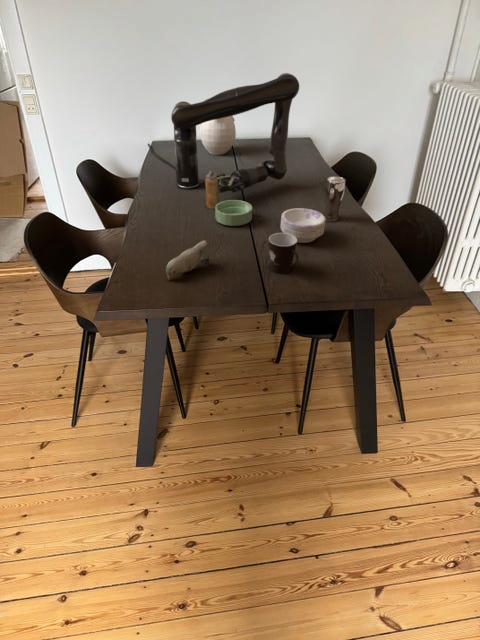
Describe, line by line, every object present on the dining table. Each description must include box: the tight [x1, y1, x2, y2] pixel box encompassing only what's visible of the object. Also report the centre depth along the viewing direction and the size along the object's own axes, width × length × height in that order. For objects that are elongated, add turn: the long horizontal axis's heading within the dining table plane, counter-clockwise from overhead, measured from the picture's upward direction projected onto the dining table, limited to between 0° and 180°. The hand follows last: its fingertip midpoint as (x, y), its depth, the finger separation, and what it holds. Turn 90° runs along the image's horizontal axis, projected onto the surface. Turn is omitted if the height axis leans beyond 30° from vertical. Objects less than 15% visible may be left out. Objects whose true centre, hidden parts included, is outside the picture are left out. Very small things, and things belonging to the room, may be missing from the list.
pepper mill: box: [204, 170, 219, 210], centre depth 168 cm, size 5×5×14 cm
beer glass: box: [322, 175, 346, 223], centre depth 160 cm, size 7×7×15 cm
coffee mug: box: [268, 232, 299, 274], centre depth 131 cm, size 12×9×10 cm
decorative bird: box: [165, 240, 210, 281], centre depth 131 cm, size 5×16×8 cm, turn 137°
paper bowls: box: [280, 207, 327, 244], centre depth 149 cm, size 15×15×8 cm
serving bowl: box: [214, 199, 253, 227], centre depth 161 cm, size 14×14×5 cm
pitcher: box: [199, 98, 237, 156], centre depth 220 cm, size 19×18×25 cm
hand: (213, 186), depth 168 cm, fingers open, 8 cm apart
